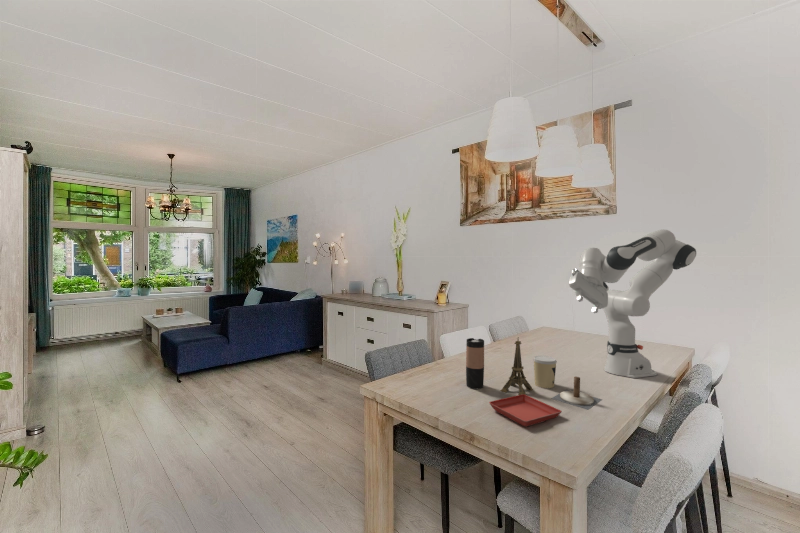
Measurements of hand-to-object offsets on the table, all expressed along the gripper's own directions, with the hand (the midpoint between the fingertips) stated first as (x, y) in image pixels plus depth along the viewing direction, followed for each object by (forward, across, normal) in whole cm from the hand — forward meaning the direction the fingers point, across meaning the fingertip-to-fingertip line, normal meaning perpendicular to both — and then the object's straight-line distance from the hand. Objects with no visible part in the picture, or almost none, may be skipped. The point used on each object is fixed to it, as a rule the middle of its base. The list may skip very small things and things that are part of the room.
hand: (587, 306), depth 155 cm
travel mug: (+38, -15, +41) cm, 57 cm away
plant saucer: (+50, -12, +13) cm, 53 cm away
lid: (+34, +11, +10) cm, 37 cm away
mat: (+34, +11, +11) cm, 37 cm away
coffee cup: (+28, +10, +26) cm, 39 cm away
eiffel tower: (+35, -2, +28) cm, 45 cm away
